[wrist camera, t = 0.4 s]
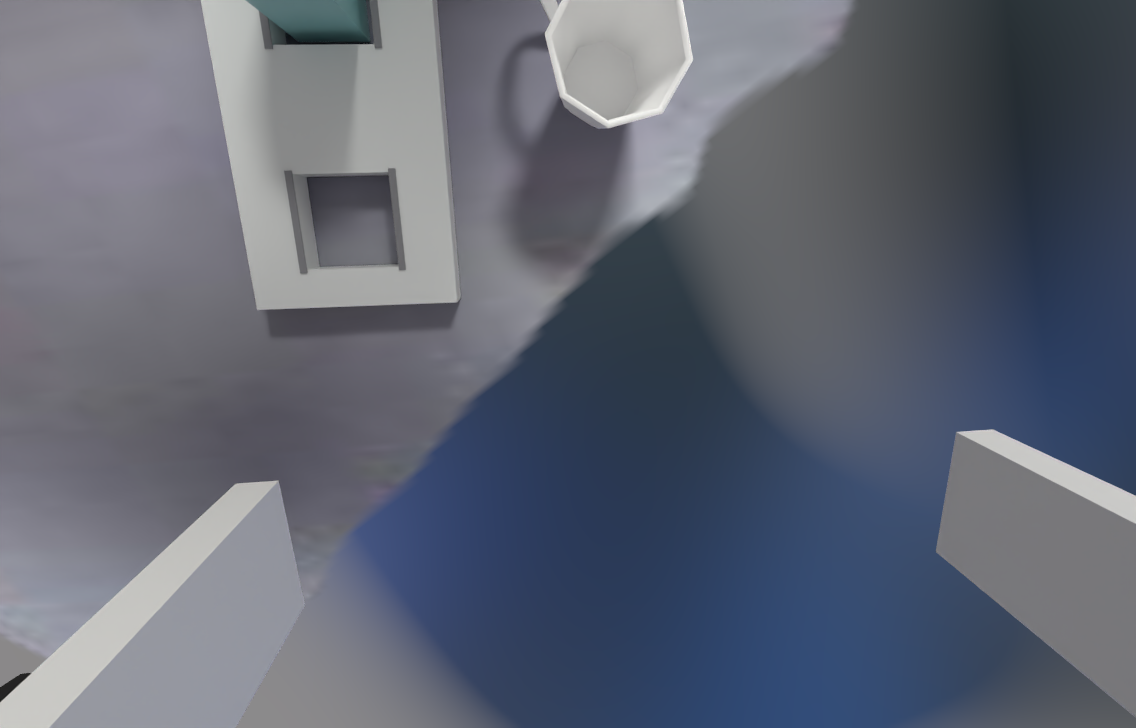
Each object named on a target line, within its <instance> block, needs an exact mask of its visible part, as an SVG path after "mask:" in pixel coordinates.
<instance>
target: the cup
mask: <svg viewBox="0 0 1136 728" xmlns="http://www.w3.org/2000/svg"><path fill="white" fill-rule="evenodd" d="M539 1H540V3H541V5H542V7H543V9H544V11H545V13H546V15H547V17H548V19H549V21H550V24H549V26H548V28H547V30H546V32H545V38H546V42H547V46H548V50H549V54H550V58H551V62H552V66H553V70H554V75H555V79H556V83H557V87H558V91H559V95H560V98H561V100H562V102H563V104H564V107H565V108H566V109H568V110H569V112H570V113H572V114H574V115H575V116H577V117H578V118H580V119H581V120H583V121H584V122H586V123H587V124H589V125H591V126H592V127H596V128H597V129H602V128H604V129H607V128H611V127H615V126H619V125H622V124H626V123H629V122H633V121H637V120H640V119H644V118H648V117H651V116H655V115H658V114H662V113H663V112H664V110H665V108H666V106H667V105H668V103H669V101H670V99H671V98H672V96H673V94H674V92H675V91H676V89H677V87H678V85H679V84H680V82H681V80H682V78H683V77H684V75H685V73H686V71H687V70H688V68H689V66H690V64H691V63H692V61H693V57H692V51H691V45H690V40H689V34H688V29H687V23H686V17H685V12H684V6H683V0H562V1H561V3H560V5H559V6H558V4H557V1H556V0H539Z"/></svg>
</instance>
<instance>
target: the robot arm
mask: <svg viewBox="0 0 1136 728" xmlns="http://www.w3.org/2000/svg"><path fill="white" fill-rule="evenodd" d="M936 552H937V553H938V554H939V555H940V556H942V557H943V558H944V559H945V560H947V561H948V562H949V563H950V564H951V565H953V566H954V567H955V568H956V569H957V570H959V571H960V572H961V573H962V574H963V575H965V576H966V577H967V578H968V579H969V580H971V581H972V582H973V583H975V584H976V585H977V586H978V587H979V588H980V589H981V590H983V591H984V592H985V593H986V594H988V595H989V596H990V597H991V598H992V599H994V600H995V601H996V602H997V603H998V604H1000V605H1001V606H1002V607H1003V608H1005V609H1006V610H1007V611H1008V612H1009V613H1010V614H1012V615H1013V616H1014V617H1015V618H1016V619H1018V620H1019V621H1020V622H1021V623H1022V624H1024V625H1025V626H1026V627H1028V628H1029V629H1030V630H1031V631H1032V632H1033V633H1035V634H1036V635H1037V636H1038V637H1040V638H1041V639H1042V640H1043V641H1044V642H1045V643H1047V644H1048V645H1049V646H1050V647H1051V648H1053V649H1054V650H1055V651H1056V652H1058V653H1059V654H1060V655H1061V656H1062V657H1064V658H1065V659H1066V660H1067V661H1068V662H1070V663H1071V664H1072V665H1073V666H1075V667H1076V668H1077V669H1078V670H1079V671H1081V672H1082V673H1083V674H1084V675H1085V676H1086V677H1088V678H1089V679H1090V680H1091V681H1092V682H1094V683H1095V684H1096V685H1097V686H1098V687H1100V688H1101V689H1102V690H1103V691H1104V692H1106V693H1107V694H1108V695H1109V696H1111V697H1112V698H1113V699H1114V700H1115V701H1117V702H1118V703H1119V704H1120V705H1121V706H1123V707H1124V708H1125V709H1126V710H1128V711H1129V712H1130V713H1131V714H1132V715H1134V716H1135V717H1136V496H1135V495H1132V494H1130V493H1128V492H1126V491H1124V490H1121V489H1120V488H1117V487H1115V486H1113V485H1111V484H1109V483H1107V482H1104V481H1102V480H1100V479H1098V478H1096V477H1094V476H1092V475H1089V474H1087V473H1085V472H1083V471H1081V470H1079V469H1076V468H1074V467H1072V466H1070V465H1068V464H1066V463H1064V462H1061V461H1059V460H1057V459H1055V458H1053V457H1051V456H1049V455H1047V454H1044V453H1042V452H1040V451H1038V450H1036V449H1034V448H1031V447H1029V446H1027V445H1025V444H1023V443H1021V442H1019V441H1016V440H1014V439H1012V438H1010V437H1008V436H1006V435H1004V434H1001V433H999V432H997V431H995V430H979V431H965V432H956V437H955V443H954V449H953V455H952V461H951V467H950V472H949V478H948V485H947V490H946V495H945V502H944V507H943V513H942V520H941V525H940V531H939V537H938V543H937V548H936ZM304 607H305V602H304V598H303V593H302V588H301V584H300V579H299V574H298V569H297V565H296V560H295V555H294V551H293V546H292V541H291V537H290V532H289V527H288V522H287V518H286V513H285V508H284V504H283V499H282V494H281V490H280V485H279V481H266V482H252V483H238V484H235V485H234V486H233V487H232V488H231V489H229V490H228V491H227V492H226V493H225V494H224V495H223V496H222V497H221V498H220V499H219V500H218V501H217V502H215V503H214V504H213V505H212V506H211V507H210V508H209V509H208V510H207V511H206V512H205V513H204V514H203V515H201V516H200V517H199V518H198V519H197V520H196V521H195V522H194V523H193V524H192V525H191V526H190V527H189V528H187V529H186V530H185V531H184V532H183V533H182V534H181V535H180V536H179V537H178V538H177V539H176V540H175V541H173V542H172V543H171V544H170V545H169V546H168V547H167V548H166V549H165V550H164V551H163V552H162V553H161V554H159V555H158V556H157V557H156V558H155V559H154V560H153V561H152V562H151V563H150V564H149V565H148V566H147V567H145V568H144V569H143V570H142V571H141V572H140V573H139V574H138V575H137V576H136V577H135V578H134V579H133V580H131V581H130V582H129V583H128V584H127V585H126V586H125V587H124V588H123V589H122V590H121V591H120V592H119V593H117V594H116V595H115V596H114V597H113V598H112V599H111V600H110V601H109V602H108V603H107V604H106V605H105V606H103V607H102V608H101V609H100V610H99V611H98V612H97V613H96V614H95V615H94V616H93V617H92V618H91V619H89V620H88V621H87V622H86V623H85V624H84V625H83V626H82V627H81V628H80V629H79V630H78V631H77V632H75V633H74V634H73V635H72V636H71V637H70V638H69V639H68V640H67V641H66V642H65V643H64V644H63V645H61V646H60V647H59V648H58V649H57V650H56V651H55V652H54V653H53V654H52V655H51V656H50V657H49V658H47V659H46V660H45V661H44V662H43V663H42V664H41V665H40V666H39V667H38V668H37V669H36V670H35V671H33V672H32V673H26V674H20V675H19V676H17V677H15V678H14V679H12V680H11V681H9V682H8V683H6V684H5V685H3V686H2V687H0V728H236V727H237V725H238V723H239V721H240V719H241V718H242V716H243V714H244V712H245V711H246V709H247V707H248V705H249V704H250V702H251V700H252V698H253V697H254V695H255V693H256V691H257V689H258V687H259V686H260V684H261V682H262V681H263V679H264V677H265V675H266V674H267V672H268V670H269V668H270V667H271V665H272V663H273V661H274V660H275V658H276V656H277V654H278V652H279V651H280V649H281V647H282V645H283V644H284V642H285V640H286V638H287V637H288V635H289V633H290V631H291V629H292V628H293V626H294V624H295V622H296V621H297V619H298V617H299V615H300V613H301V612H302V610H303V608H304Z"/></svg>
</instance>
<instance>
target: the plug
mask: <svg viewBox="0 0 1136 728" xmlns="http://www.w3.org/2000/svg"><path fill="white" fill-rule="evenodd" d="M246 1H247V2H248V3H250V4H251V5H252V6H253V7H255V8H256V9H257V10H259V11H260V12H261V13H262V14H264V15H265V16H266V17H268V18H269V19H270V20H271V21H273V22H274V23H275V24H277V25H278V26H279V27H280V28H282V29H283V30H284V31H285V32H287V33H288V34H289V35H291V36H292V37H293V38H294V39H296V40H297V41H298V42H370V33H369V24H368V15H367V6H366V0H246Z"/></svg>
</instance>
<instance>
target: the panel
mask: <svg viewBox="0 0 1136 728" xmlns="http://www.w3.org/2000/svg"><path fill="white" fill-rule="evenodd" d="M369 2H370V11H371V20H372V29H373V38H374V44H327V45H287V42H286V36H285V31H284V30H283V29H282V28H280V27H279V26H278V25H277V24H275V23H274V22H273V21H271V20H270V19H269V18H268V17H266V16H265V15H264V14H262V13H261V12H260V11H259V10H257V9H256V8H255V7H253V6H252V5H251V4H250V3H248V2H247V1H246V0H201V5H202V10H203V16H204V21H205V26H206V32H207V37H208V43H209V48H210V54H211V59H212V65H213V70H214V76H215V81H216V87H217V92H218V98H219V103H220V109H221V114H222V120H223V125H224V131H225V136H226V142H227V147H228V153H229V158H230V164H231V169H232V175H233V180H234V186H235V191H236V196H237V202H238V207H239V213H240V218H241V224H242V229H243V235H244V240H245V246H246V251H247V257H248V262H249V268H250V273H251V279H252V284H253V290H254V295H255V301H256V306H257V310H270V309H296V308H322V307H348V306H375V305H401V304H427V303H453V302H458V301H459V300H460V298H461V291H460V279H459V266H458V254H457V241H456V229H455V217H454V204H453V192H452V179H451V167H450V154H449V142H448V130H447V117H446V105H445V92H444V80H443V67H442V55H441V43H440V30H439V18H438V5H437V0H369ZM373 175H389V184H390V193H391V202H392V211H393V220H394V229H395V239H396V248H397V257H398V264H391V265H361V266H332V267H320V265H319V258H318V252H317V245H316V238H315V231H314V225H313V218H312V211H311V204H310V198H309V191H308V184H307V177H329V176H373Z"/></svg>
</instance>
